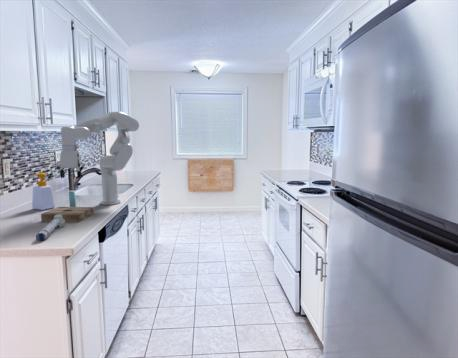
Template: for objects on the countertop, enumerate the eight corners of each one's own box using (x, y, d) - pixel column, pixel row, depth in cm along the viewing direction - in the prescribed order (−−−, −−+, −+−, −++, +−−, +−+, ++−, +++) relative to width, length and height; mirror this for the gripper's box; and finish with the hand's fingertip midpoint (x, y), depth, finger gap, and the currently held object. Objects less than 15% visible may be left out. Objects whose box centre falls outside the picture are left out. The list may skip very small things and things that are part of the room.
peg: (71, 210, 191) (70, 190, 189) (77, 210, 191) (75, 190, 189) (69, 211, 188) (67, 191, 186) (74, 211, 188) (73, 191, 186)
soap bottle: (24, 210, 189) (21, 173, 186) (45, 206, 202) (43, 171, 199) (35, 212, 186) (32, 174, 183) (56, 207, 198) (53, 172, 195)
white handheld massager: (33, 233, 135) (54, 211, 159) (35, 247, 137) (55, 223, 161) (46, 232, 136) (65, 211, 160) (48, 246, 138) (66, 223, 162)
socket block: (59, 213, 184) (58, 206, 183) (93, 214, 183) (93, 207, 183) (41, 221, 167) (40, 214, 166) (79, 222, 166) (78, 214, 166)
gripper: (87, 148, 188) (88, 177, 190) (58, 148, 188) (59, 176, 190) (81, 148, 180) (82, 178, 183) (50, 148, 181) (52, 178, 183)
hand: (71, 177), depth 187 cm, fingers open, 9 cm apart
